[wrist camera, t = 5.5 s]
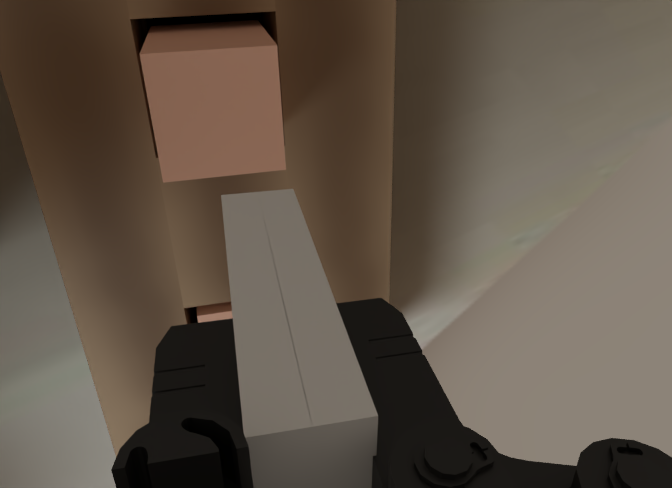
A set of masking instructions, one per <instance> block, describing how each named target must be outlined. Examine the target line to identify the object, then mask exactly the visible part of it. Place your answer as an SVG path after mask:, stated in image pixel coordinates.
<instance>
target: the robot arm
mask: <svg viewBox="0 0 672 488" xmlns="http://www.w3.org/2000/svg"><path fill="white" fill-rule="evenodd" d="M221 200H222V211H223V221H224V232H225V242H226V253H227V263H228V274H229V285H230V295H231V306H232V316H233V318H232V319H224V320H216V321H208V322H200V323H192V324H184V325H176V326H171V327H170V329H169V330H168V331H167V333H166V334H165V336H164V337H163V339H162V340H161V342H160V343H159V344H158V346H157V347H156V353H155V364H154V377H153V385H152V397H151V406H150V417H149V423H148V424H146V425H145V426H143V427H141V428H140V429H138V430H136V431H135V432H134V434H133V435H132V436H131V437H130V438H129V439H128V440H127V441H126V442H125V443H124V445H123V446H122V447H121V448H120V449H119V452H118V454H117V457H116V460H115V462H114V465H113V467H112V474H113V477H114V481H115V484H116V488H672V457H670V456H668V455H667V454H665V453H663V452H662V451H660V450H659V449H657V448H654V447H651V446H648V445H646V444H642V443H640V442H637V441H634V440H625V439H615V438H611V439H606V440H601V441H597V442H593V443H592V444H591V445H589V446H588V447H587V448H586V449H585V450H583V451H582V452H581V454H580V457H579V460H578V464H577V466H571V465H561V464H551V463H543V462H533V461H525V460H521V459H515V458H511V457H508V456H505V455H503V454H500V453H498V452H497V451H496V449H495V448H494V447H493V446H492V445H491V443H490V442H489V441H488V440H487V439H486V438H484V437H483V436H481V435H479V434H478V433H476V432H475V431H473V430H471V429H470V428H467V427H464V426H463V425H462V423H461V422H460V421H459V419H458V417H457V415H456V413H455V411H454V409H453V408H452V406H451V404H450V402H449V400H448V398H447V396H446V394H445V393H444V391H443V389H442V387H441V385H440V383H439V381H438V380H437V378H436V376H435V374H434V372H433V370H432V368H431V367H430V365H429V363H428V361H427V359H426V357H425V356H424V355H423V354H422V350H421V348H420V346H419V344H418V342H417V340H416V338H414V337H413V333H412V331H411V329H410V327H409V325H408V324H407V322H406V320H405V318H404V316H403V314H402V313H401V312H400V311H398V310H397V309H396V308H394V307H393V306H392V305H390V304H389V303H388V302H386V301H385V300H384V299H382V298H375V299H367V300H359V301H351V302H343V303H336V302H335V299H334V296H333V294H332V291H331V288H330V286H329V283H328V280H327V278H326V275H325V272H324V270H323V267H322V264H321V262H320V259H319V256H318V254H317V251H316V248H315V246H314V243H313V240H312V238H311V235H310V232H309V230H308V227H307V224H306V222H305V219H304V216H303V213H302V211H301V208H300V205H299V203H298V200H297V197H296V195H295V192H294V189H284V190H273V191H262V192H250V193H239V194H227V195H221Z"/></svg>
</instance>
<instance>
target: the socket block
mask: <svg viewBox="0 0 672 488" xmlns="http://www.w3.org/2000/svg"><path fill="white" fill-rule="evenodd" d="M252 12H260V22H261V25H262V26H263V28H264V29H265V30H266V31H267V33H268V34H269V35H270V37H271V38H272V39H273V40H274V42H275V43H276V44H277V50H278V64H279V78H280V92H281V106H282V120H283V133H284V147H285V161H286V170H279V171H269V172H260V173H250V174H241V175H231V176H222V177H212V178H203V179H193V180H184V181H174V182H165V183H163V179H162V174H161V168H160V163H159V157H158V152H157V147H156V141H155V136H154V130H153V125H152V119H151V114H150V109H149V103H148V98H147V92H146V87H145V81H144V76H143V71H142V65H141V60H140V52H141V49H142V47H143V44H144V42H145V39H146V37H147V35H148V31H147V25H146V20H145V18H161V17H180V16H198V15H216V14H234V13H252ZM395 37H396V0H0V72H1V75H2V79H3V82H4V85H5V89H6V92H7V95H8V99H9V102H10V105H11V109H12V112H13V115H14V119H15V122H16V125H17V129H18V132H19V135H20V139H21V142H22V145H23V149H24V152H25V155H26V159H27V162H28V165H29V169H30V172H31V175H32V178H33V182H34V185H35V188H36V192H37V195H38V198H39V202H40V205H41V208H42V212H43V215H44V218H45V222H46V225H47V228H48V232H49V235H50V238H51V242H52V245H53V248H54V252H55V255H56V258H57V262H58V265H59V268H60V271H61V275H62V278H63V281H64V285H65V288H66V291H67V295H68V298H69V301H70V305H71V308H72V311H73V315H74V318H75V321H76V325H77V328H78V331H79V335H80V338H81V341H82V345H83V348H84V351H85V355H86V358H87V361H88V365H89V368H90V371H91V374H92V378H93V381H94V384H95V388H96V391H97V394H98V398H99V401H100V404H101V408H102V411H103V414H104V418H105V421H106V424H107V428H108V431H109V434H110V438H111V441H112V444H113V448H114V451H115V454H116V457H117V454H118V452H119V449H120V448H121V447H122V446H123V445H124V443H125V442H126V441H127V440H128V439H129V438H130V437H131V436H132V435H133V434H134V432H135V431H136V430H138V429H140V428H141V427H143V426H145V425H146V424H148V423H149V417H150V406H151V397H152V385H153V377H154V364H155V353H156V347H157V346H158V344H159V343H160V342H161V340H162V339H163V337H164V336H165V334H166V333H167V331H168V330H169V329H170V327H171V326H176V325H184V324H192V323H198V319H197V312H196V306H203V305H210V304H217V303H224V302H231V295H230V285H229V274H228V263H227V253H226V242H225V232H224V221H223V211H222V200H221V195H227V194H239V193H250V192H262V191H273V190H284V189H294V192H295V195H296V197H297V200H298V203H299V205H300V208H301V211H302V213H303V216H304V219H305V222H306V224H307V227H308V230H309V232H310V235H311V238H312V240H313V243H314V246H315V248H316V251H317V254H318V256H319V259H320V262H321V264H322V267H323V270H324V272H325V275H326V278H327V280H328V283H329V286H330V288H331V291H332V294H333V296H334V299H335V302H336V303H343V302H351V301H359V300H367V299H375V298H382V299H384V300H385V301H386V302H388V303H389V296H390V253H391V210H392V167H393V123H394V80H395Z"/></svg>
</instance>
